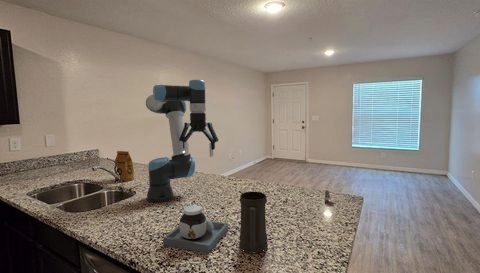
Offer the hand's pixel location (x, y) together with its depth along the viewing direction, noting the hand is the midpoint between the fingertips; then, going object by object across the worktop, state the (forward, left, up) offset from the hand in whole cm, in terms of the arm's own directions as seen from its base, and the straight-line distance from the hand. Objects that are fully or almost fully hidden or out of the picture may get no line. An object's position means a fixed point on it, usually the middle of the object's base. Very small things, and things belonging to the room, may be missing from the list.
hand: (198, 155), depth 126 cm
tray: (+11, -24, -29) cm, 39 cm away
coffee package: (-82, +39, -29) cm, 95 cm away
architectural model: (+61, +33, -29) cm, 75 cm away
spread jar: (+11, -24, -28) cm, 38 cm away
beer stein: (+35, -26, -29) cm, 52 cm away
